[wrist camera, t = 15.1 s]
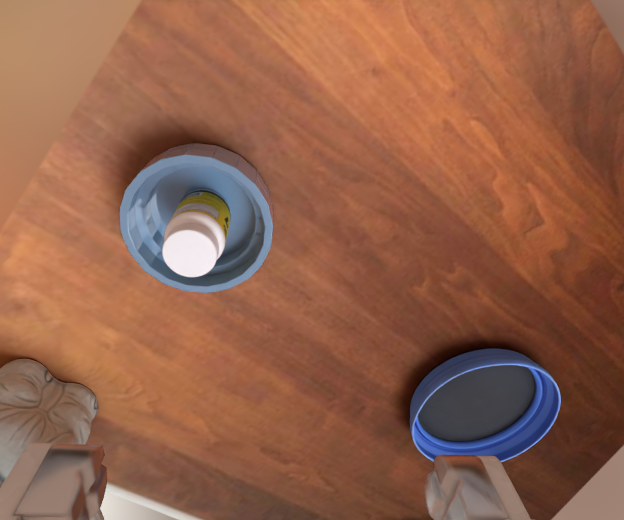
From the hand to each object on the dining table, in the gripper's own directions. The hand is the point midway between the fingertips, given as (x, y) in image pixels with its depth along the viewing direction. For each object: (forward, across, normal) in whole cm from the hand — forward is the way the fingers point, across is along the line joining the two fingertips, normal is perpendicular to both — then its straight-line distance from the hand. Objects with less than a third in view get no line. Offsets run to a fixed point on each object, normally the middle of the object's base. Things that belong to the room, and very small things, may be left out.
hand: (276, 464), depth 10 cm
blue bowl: (+30, +6, +6) cm, 32 cm away
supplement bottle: (+30, +6, +6) cm, 31 cm away
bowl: (+31, -28, +28) cm, 50 cm away
